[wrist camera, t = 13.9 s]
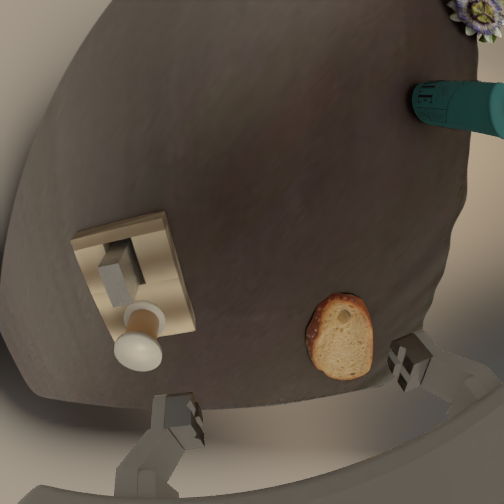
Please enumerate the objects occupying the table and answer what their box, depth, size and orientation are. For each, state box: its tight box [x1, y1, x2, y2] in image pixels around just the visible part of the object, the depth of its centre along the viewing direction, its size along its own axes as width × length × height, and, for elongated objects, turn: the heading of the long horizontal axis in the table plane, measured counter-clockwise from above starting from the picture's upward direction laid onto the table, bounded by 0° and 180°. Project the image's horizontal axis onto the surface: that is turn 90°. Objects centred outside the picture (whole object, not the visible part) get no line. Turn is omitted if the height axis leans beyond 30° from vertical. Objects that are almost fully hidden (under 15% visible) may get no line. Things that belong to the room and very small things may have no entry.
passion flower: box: [446, 0, 504, 44], centre depth 23 cm, size 11×11×12 cm
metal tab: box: [97, 237, 143, 307], centre depth 32 cm, size 5×2×8 cm, turn 7°
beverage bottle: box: [412, 80, 504, 139], centre depth 24 cm, size 6×7×20 cm
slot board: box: [70, 210, 195, 343], centre depth 36 cm, size 16×12×3 cm
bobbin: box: [114, 300, 166, 371], centre depth 34 cm, size 6×6×7 cm
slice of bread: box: [306, 293, 373, 380], centre depth 47 cm, size 18×18×4 cm
